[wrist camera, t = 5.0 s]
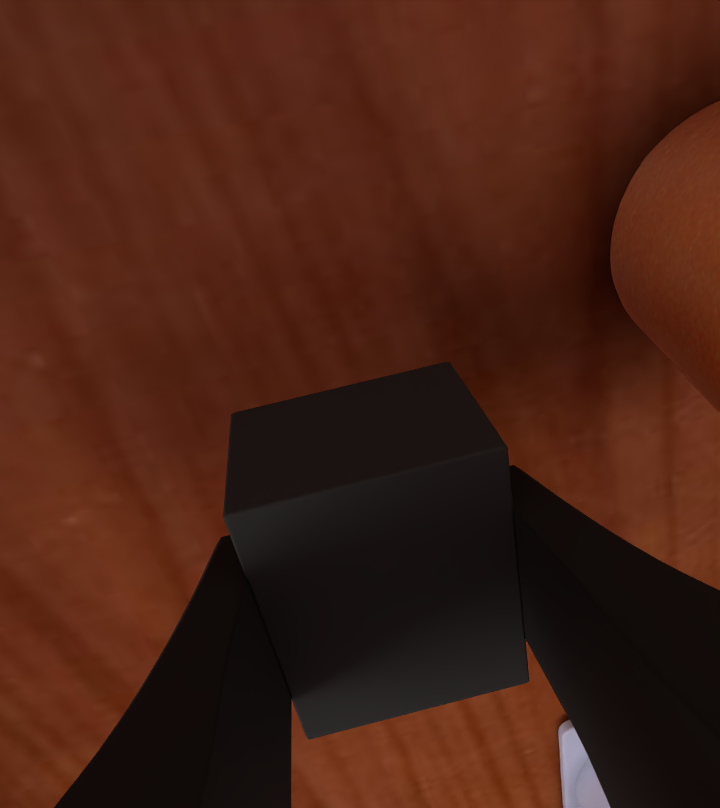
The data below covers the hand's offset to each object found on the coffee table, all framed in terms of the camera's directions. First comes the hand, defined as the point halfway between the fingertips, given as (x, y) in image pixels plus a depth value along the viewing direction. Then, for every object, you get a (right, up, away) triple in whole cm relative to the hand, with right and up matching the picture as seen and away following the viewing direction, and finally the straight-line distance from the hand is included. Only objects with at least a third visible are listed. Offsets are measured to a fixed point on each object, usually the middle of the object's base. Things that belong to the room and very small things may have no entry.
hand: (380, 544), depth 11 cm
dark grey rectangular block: (0, +1, +1) cm, 1 cm away
